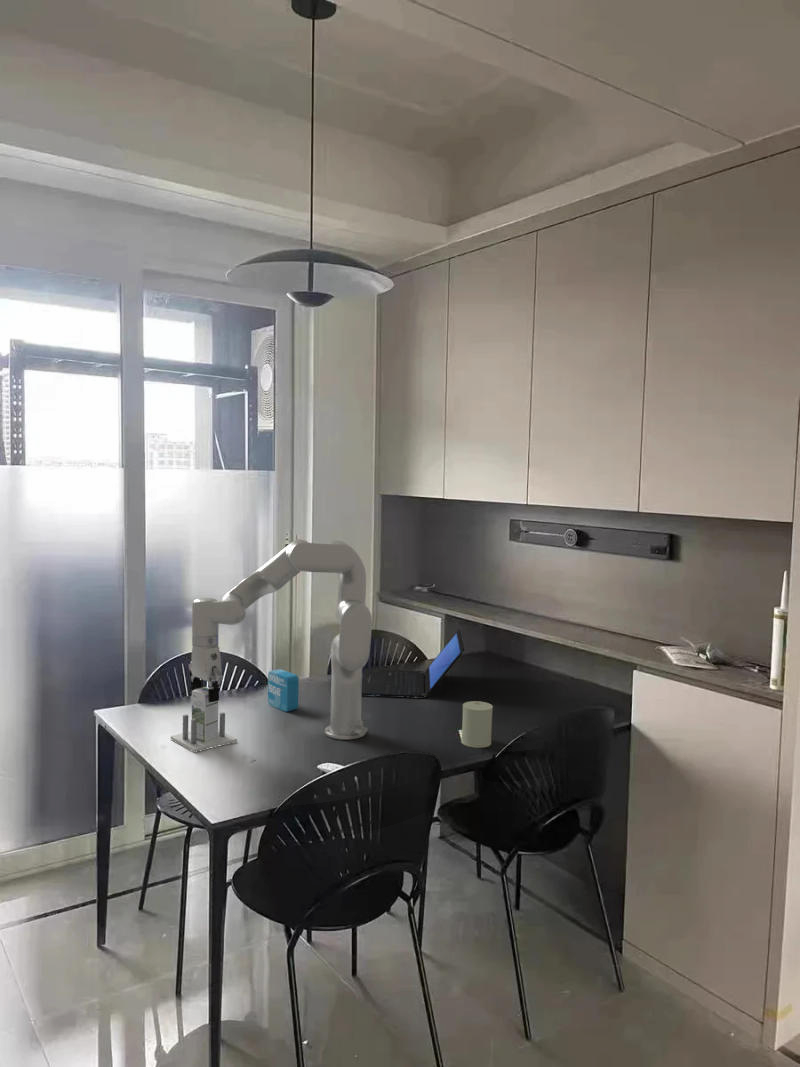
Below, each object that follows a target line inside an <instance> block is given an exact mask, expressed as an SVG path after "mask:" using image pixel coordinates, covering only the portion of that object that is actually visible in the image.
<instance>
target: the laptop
mask: <svg viewBox="0 0 800 1067" xmlns="http://www.w3.org/2000/svg"><path fill="white" fill-rule="evenodd" d="M464 651H465V647H464V642H463V636H462V633H461V630H460V629H458V630H457V631H456V633H455V634H454V635H453V636H452V637H451V638H450V640H448V642H447V643H446V644H445V646H444V647H443V648H442V650H441V651H440V652H439V653H438V654H437V656H436V657H435V658H434V659H433V660H432V662H431V663H430V664H429V666H428V667H427V668H426V669H425V671H423V670H400V669H376V668H375V669H374V668H365V669H364V672H363V674H362V695H375V696H376V695H380V696H404V697H407V696H409V697H424V696H426V697H425V698H427V697H428V696H429V695H430V694H431V692H432V691H433V690H434V689H435V688H436V686H437V685H438V684H439V682H440V681H441V680H442V679H443V678H444V676H445V675H446V674H447V673H448V672H449V670H450V669H451V668H452V667H453V666H454V664H455V663H456V662H457V661H458V659H459V658H460V657H461V656H462V655H463V652H464ZM420 672H421V673H420ZM424 673H425V675H424Z"/></svg>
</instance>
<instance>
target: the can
mask: <svg viewBox="0 0 800 1067" xmlns="http://www.w3.org/2000/svg"><path fill="white" fill-rule="evenodd" d="M493 708H494V706H493V704H490V703H489V702H486V701H485V702H484V701H479V700H478V701H477V700H476V701H475V700H473V701H466V702H464V703H463V704H462V725H461V726H462V727H461V740H460V743H461V744H462V745H464V746H465V747H469V748H475V749H482V748H487V747H490V746H491V745H492V724H493V723H492V722H493Z"/></svg>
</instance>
